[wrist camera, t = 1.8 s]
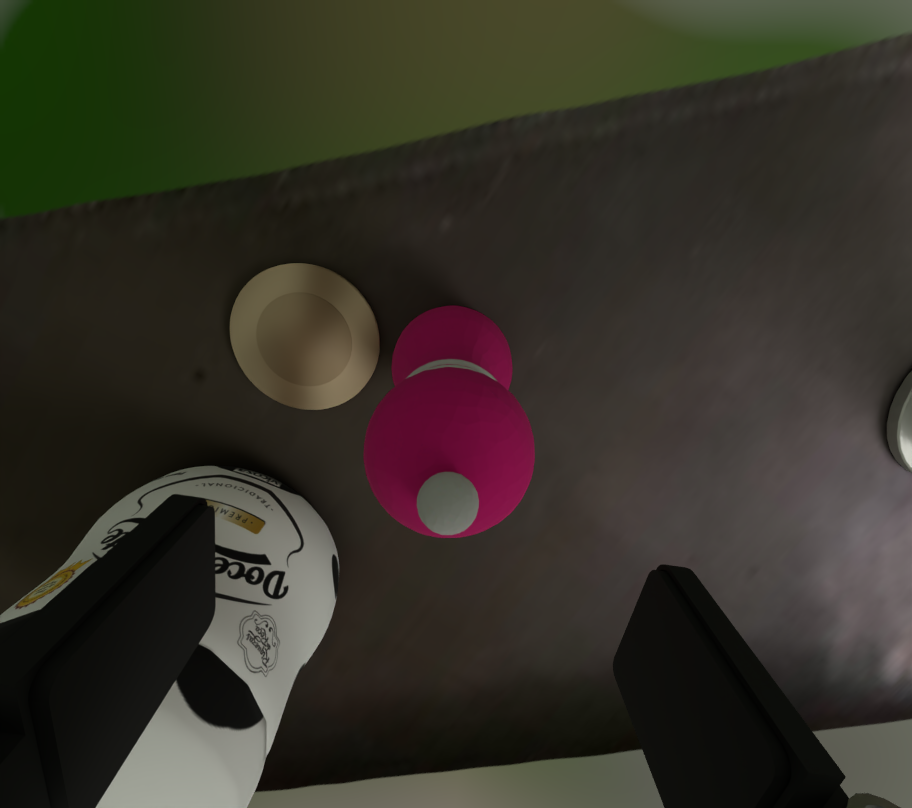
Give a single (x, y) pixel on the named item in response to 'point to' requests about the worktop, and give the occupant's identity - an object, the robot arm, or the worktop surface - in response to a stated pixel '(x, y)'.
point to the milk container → (220, 636)
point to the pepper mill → (450, 428)
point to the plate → (304, 336)
